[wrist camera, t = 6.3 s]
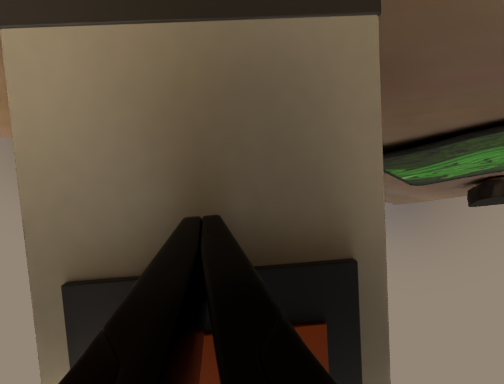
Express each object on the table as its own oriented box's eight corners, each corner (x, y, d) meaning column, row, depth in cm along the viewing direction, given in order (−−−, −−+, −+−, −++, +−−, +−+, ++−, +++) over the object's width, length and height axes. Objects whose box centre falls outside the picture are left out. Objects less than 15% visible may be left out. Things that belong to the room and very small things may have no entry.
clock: (-21, -16, 7) (52, 592, 9) (388, -28, 8) (405, 543, 9) (83, 60, 13) (119, 427, 14) (323, 49, 13) (340, 403, 15)
